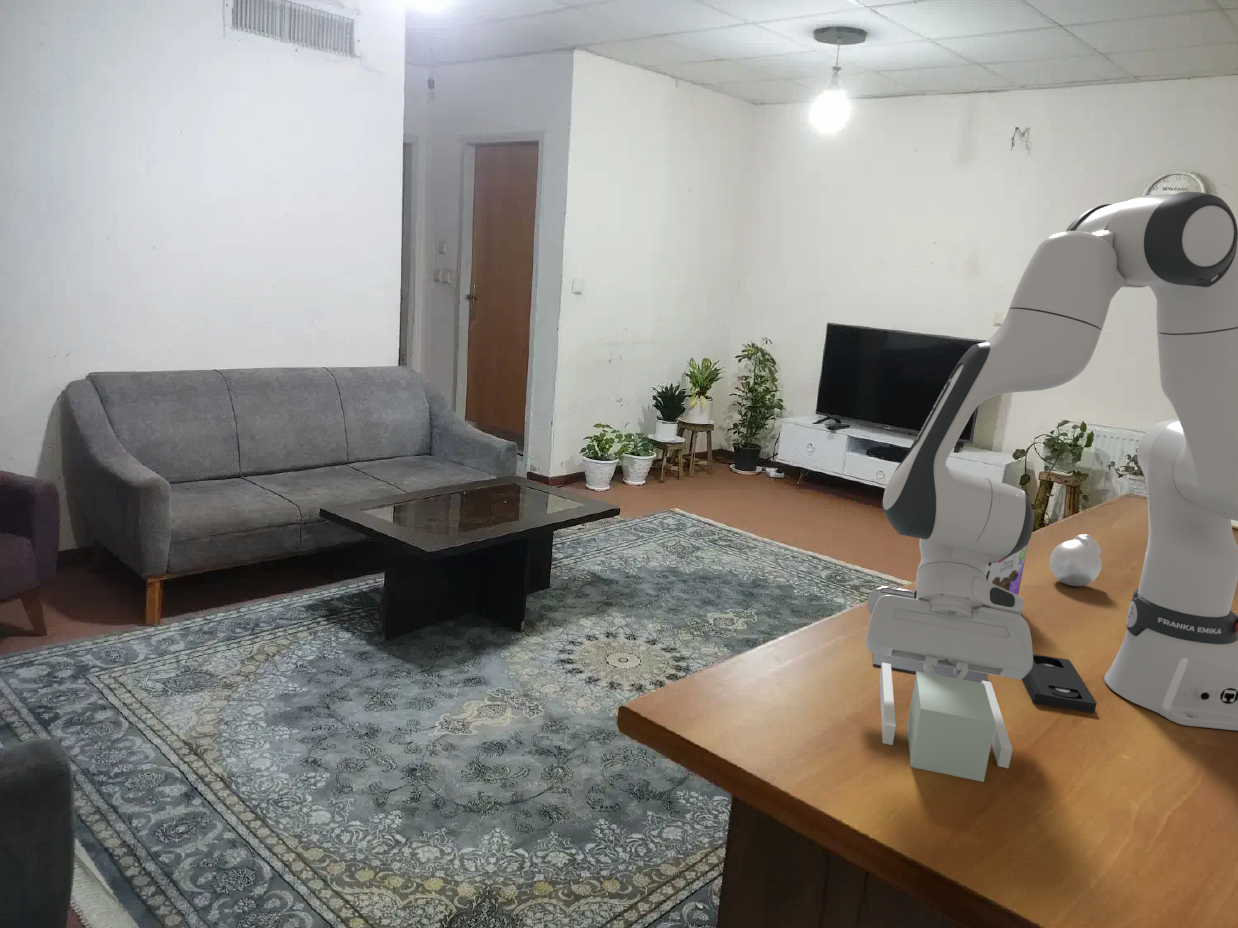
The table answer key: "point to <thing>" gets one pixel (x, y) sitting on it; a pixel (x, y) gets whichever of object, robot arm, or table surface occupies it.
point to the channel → (887, 663)
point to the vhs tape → (1057, 685)
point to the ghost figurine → (1076, 561)
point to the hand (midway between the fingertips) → (943, 696)
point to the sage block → (950, 726)
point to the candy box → (1007, 571)
